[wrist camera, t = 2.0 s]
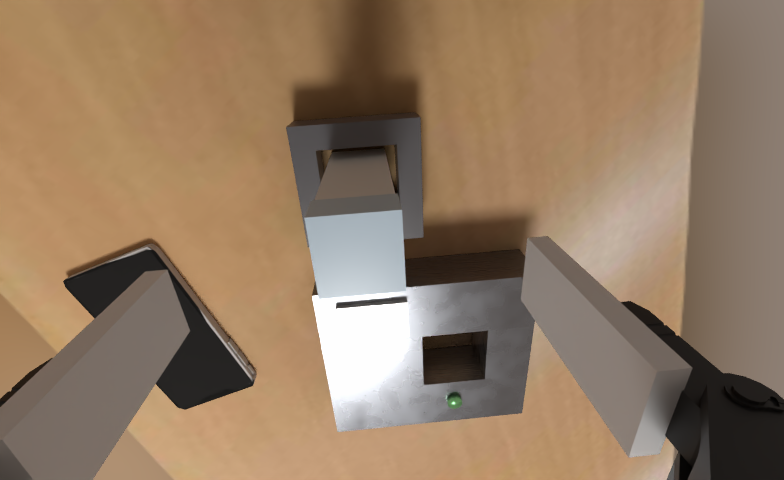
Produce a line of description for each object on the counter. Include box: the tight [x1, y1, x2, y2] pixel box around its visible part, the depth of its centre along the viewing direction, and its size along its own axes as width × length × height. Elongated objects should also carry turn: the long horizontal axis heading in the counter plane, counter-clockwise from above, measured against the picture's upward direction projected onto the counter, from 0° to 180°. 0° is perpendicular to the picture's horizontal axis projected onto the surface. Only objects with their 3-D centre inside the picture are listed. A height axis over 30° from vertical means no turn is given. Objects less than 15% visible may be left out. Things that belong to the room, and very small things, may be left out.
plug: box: [304, 148, 406, 299], centre depth 20 cm, size 4×4×12 cm
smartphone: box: [63, 243, 257, 409], centre depth 30 cm, size 8×1×15 cm
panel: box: [312, 249, 535, 432], centre depth 30 cm, size 14×16×4 cm
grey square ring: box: [286, 112, 424, 247], centre depth 25 cm, size 8×8×2 cm
